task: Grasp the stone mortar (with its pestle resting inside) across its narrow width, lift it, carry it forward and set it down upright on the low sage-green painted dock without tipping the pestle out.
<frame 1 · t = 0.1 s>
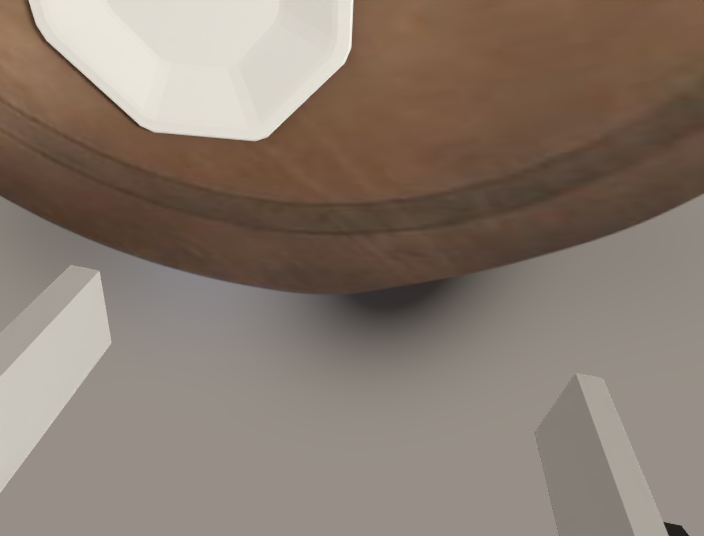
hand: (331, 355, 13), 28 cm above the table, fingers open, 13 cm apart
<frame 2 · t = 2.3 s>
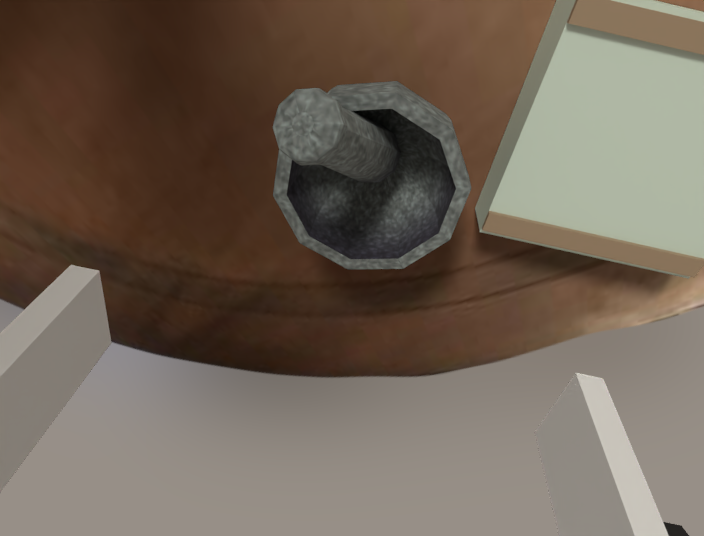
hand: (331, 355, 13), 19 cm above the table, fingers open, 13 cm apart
mortar and pestle: (374, 130, 29), on the table
dock: (623, 135, 27), on the table
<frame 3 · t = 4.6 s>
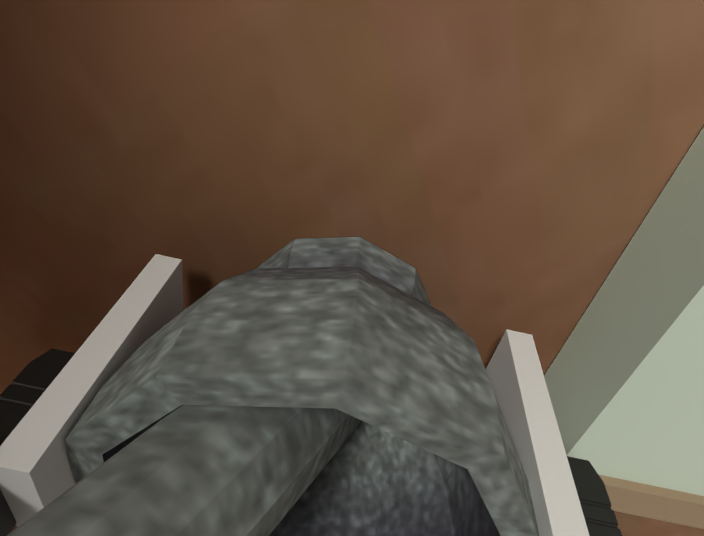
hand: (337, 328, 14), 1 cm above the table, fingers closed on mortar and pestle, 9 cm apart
mortar and pestle: (330, 295, 15), on the table, touching gripper
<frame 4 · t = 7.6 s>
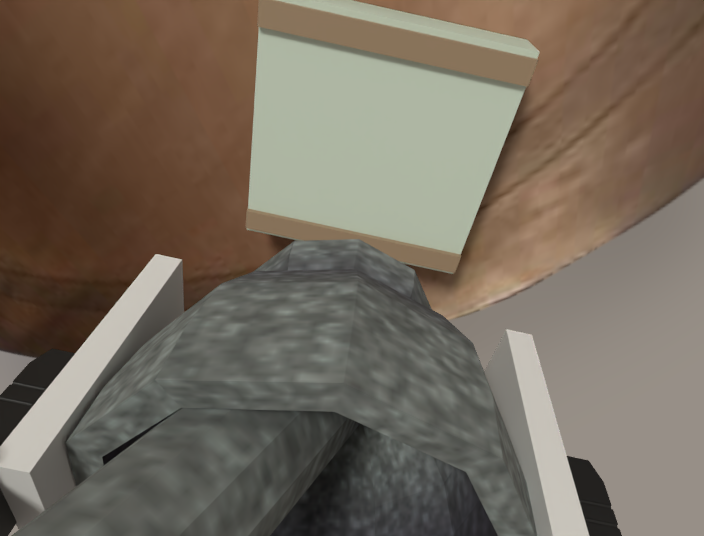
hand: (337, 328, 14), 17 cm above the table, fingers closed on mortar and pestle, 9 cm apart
mortar and pestle: (329, 297, 15), point 15 cm above the table, touching gripper
dock: (375, 134, 28), on the table
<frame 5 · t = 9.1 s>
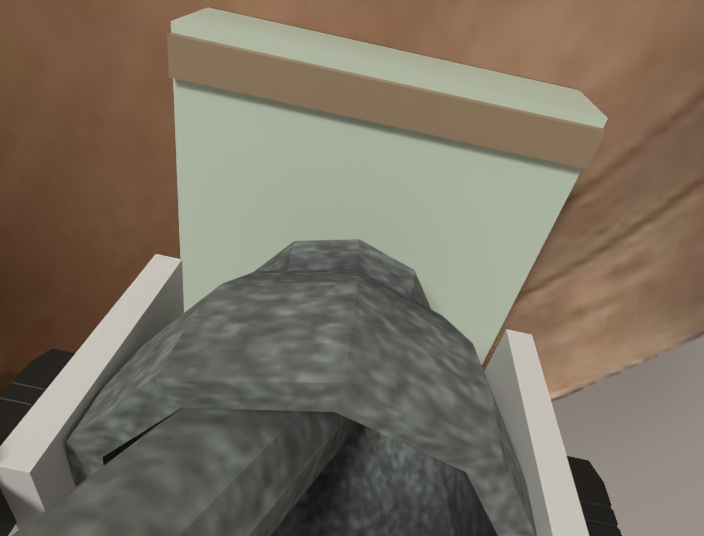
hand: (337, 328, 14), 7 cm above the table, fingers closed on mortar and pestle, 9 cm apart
mortar and pestle: (329, 297, 15), point 6 cm above the table, touching gripper
dock: (358, 212, 20), on the table
when the fingers open (5 cm above the table, at t = 10.4 s): mortar and pestle drops 1 cm, resting on dock.
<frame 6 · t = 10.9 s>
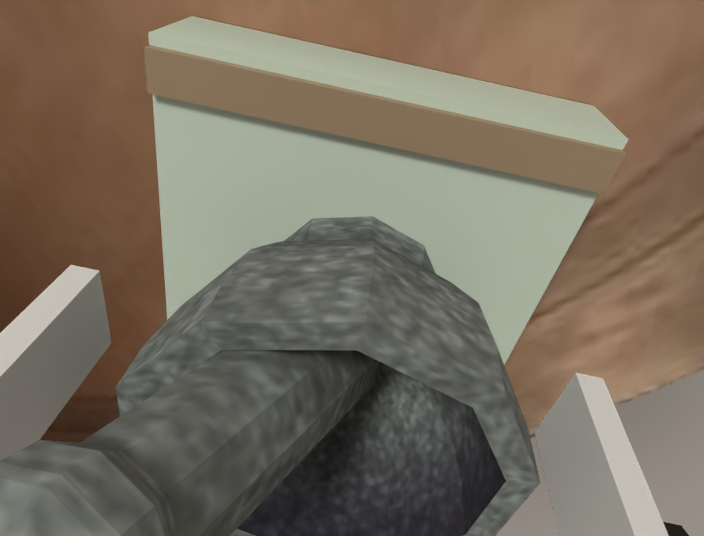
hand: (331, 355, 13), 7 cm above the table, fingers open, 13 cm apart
mortar and pestle: (344, 273, 16), point 3 cm above the table, touching dock
dock: (356, 232, 19), on the table
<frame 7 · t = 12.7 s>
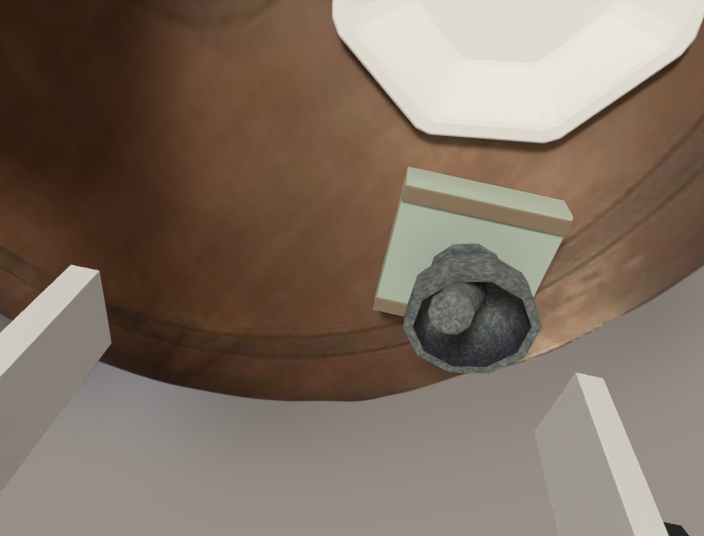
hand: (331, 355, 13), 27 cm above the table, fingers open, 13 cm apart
mortar and pestle: (462, 266, 40), point 3 cm above the table, touching dock
dock: (461, 249, 42), on the table
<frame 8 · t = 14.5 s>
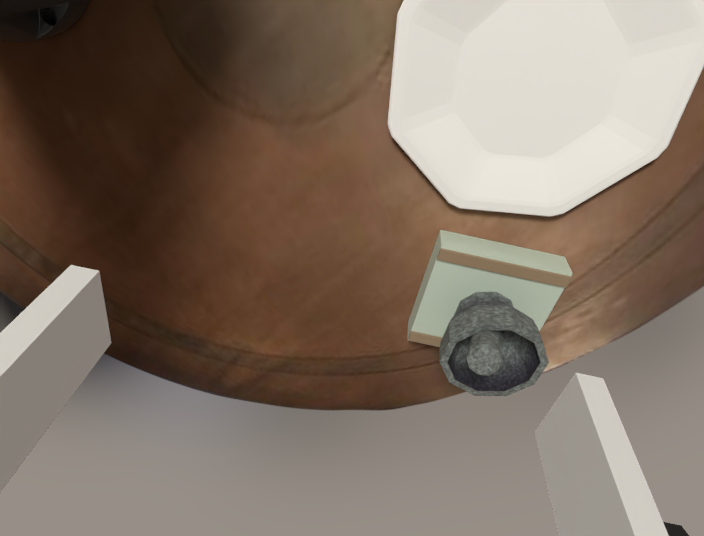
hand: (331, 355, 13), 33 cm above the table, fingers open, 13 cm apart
mortar and pestle: (482, 308, 49), point 3 cm above the table, touching dock
dock: (480, 291, 52), on the table
plate: (534, 78, 39), on the table
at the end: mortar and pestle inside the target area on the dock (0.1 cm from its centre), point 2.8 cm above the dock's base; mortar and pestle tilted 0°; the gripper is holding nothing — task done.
